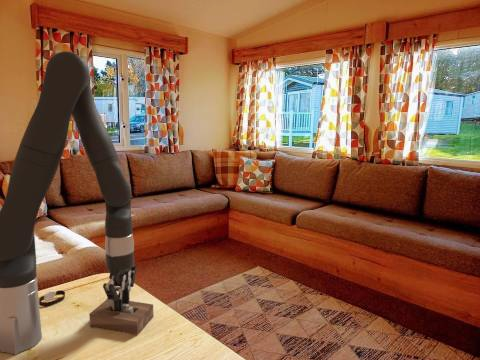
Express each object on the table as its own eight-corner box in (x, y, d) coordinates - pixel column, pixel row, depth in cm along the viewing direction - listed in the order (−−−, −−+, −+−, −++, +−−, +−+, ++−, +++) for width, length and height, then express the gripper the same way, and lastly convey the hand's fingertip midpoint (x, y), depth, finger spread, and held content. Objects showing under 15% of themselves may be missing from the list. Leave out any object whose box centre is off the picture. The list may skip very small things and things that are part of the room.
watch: (61, 295, 116) (60, 285, 115) (68, 300, 113) (67, 289, 112) (36, 304, 110) (35, 293, 109) (43, 309, 107) (42, 298, 106)
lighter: (135, 320, 101) (131, 294, 100) (131, 324, 100) (128, 297, 98) (113, 319, 103) (109, 293, 102) (109, 322, 101) (106, 296, 100)
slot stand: (137, 335, 95) (137, 321, 94) (90, 326, 98) (89, 313, 98) (153, 316, 104) (153, 304, 103) (109, 309, 107) (108, 297, 107)
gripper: (121, 239, 105) (123, 293, 108) (91, 257, 91) (95, 318, 95) (144, 242, 103) (146, 297, 106) (117, 261, 90) (120, 322, 93)
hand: (122, 306), depth 100 cm, fingers open, 3 cm apart
